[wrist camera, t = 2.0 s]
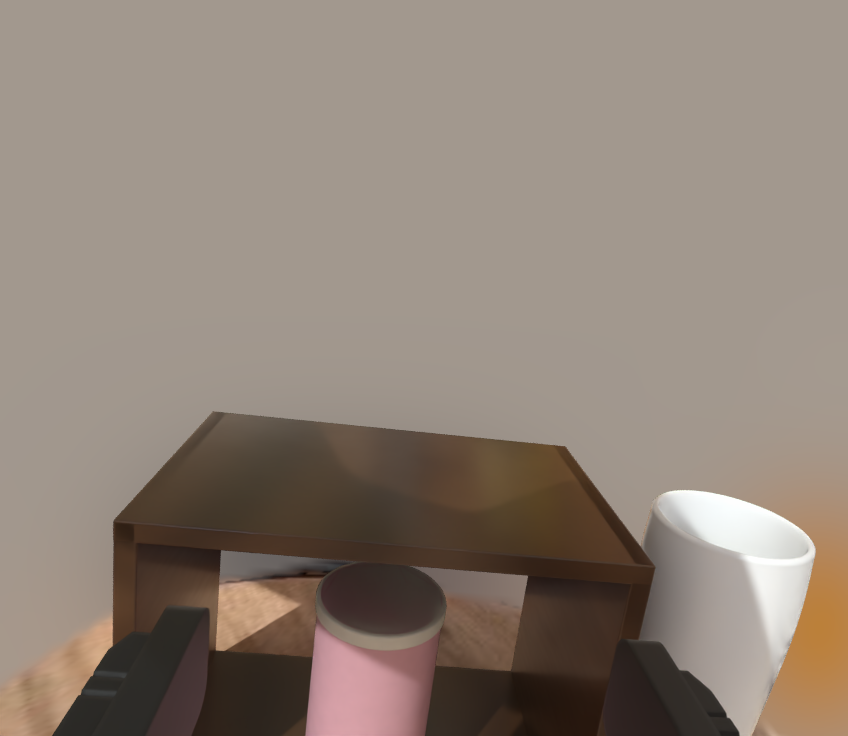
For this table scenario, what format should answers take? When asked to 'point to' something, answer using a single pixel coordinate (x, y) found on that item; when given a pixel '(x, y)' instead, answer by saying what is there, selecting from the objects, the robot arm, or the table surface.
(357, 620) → the pink canister
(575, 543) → the cubby cabinet
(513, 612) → the table surface
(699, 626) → the drinking glass
